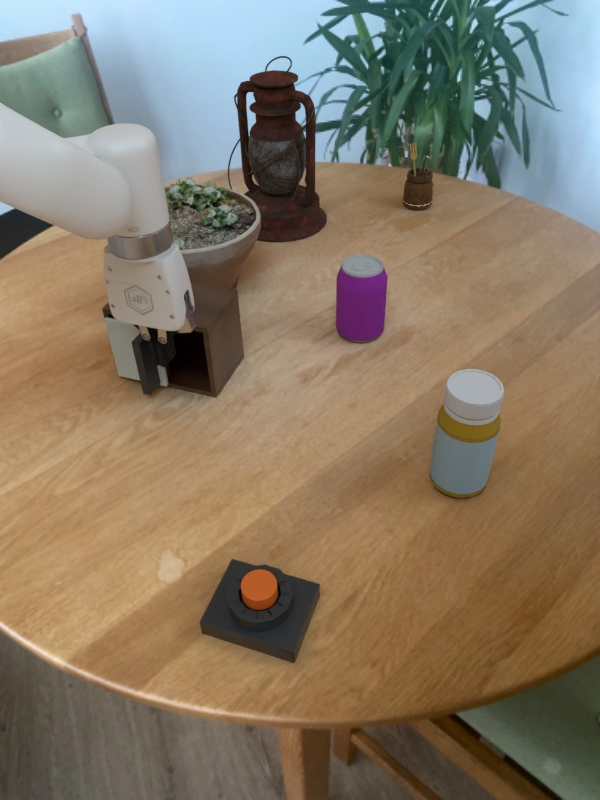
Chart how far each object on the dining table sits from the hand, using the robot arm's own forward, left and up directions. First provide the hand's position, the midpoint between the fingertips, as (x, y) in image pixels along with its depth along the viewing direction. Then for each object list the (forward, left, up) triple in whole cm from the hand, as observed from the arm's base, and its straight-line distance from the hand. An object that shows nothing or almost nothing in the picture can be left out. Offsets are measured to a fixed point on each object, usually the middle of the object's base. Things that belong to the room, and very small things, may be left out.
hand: (164, 360), depth 91 cm
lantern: (-5, +57, -7) cm, 58 cm away
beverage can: (+21, +24, -7) cm, 33 cm away
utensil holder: (+20, +72, -7) cm, 75 cm away
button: (+25, -28, -4) cm, 37 cm away
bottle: (+41, -3, -7) cm, 42 cm away
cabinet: (-2, +7, -7) cm, 11 cm away
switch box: (+25, -28, -7) cm, 38 cm away
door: (-6, 0, -6) cm, 8 cm away
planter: (-11, +29, -7) cm, 32 cm away
